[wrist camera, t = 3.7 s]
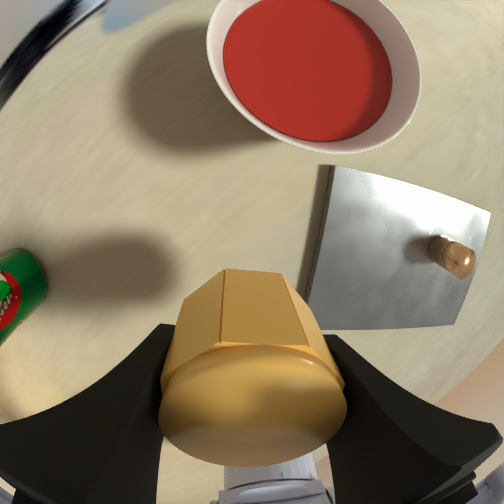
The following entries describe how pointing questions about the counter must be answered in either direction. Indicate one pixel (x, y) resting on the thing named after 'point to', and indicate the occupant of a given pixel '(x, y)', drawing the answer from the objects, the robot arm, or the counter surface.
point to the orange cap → (249, 374)
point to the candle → (316, 70)
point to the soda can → (19, 290)
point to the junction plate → (391, 254)
